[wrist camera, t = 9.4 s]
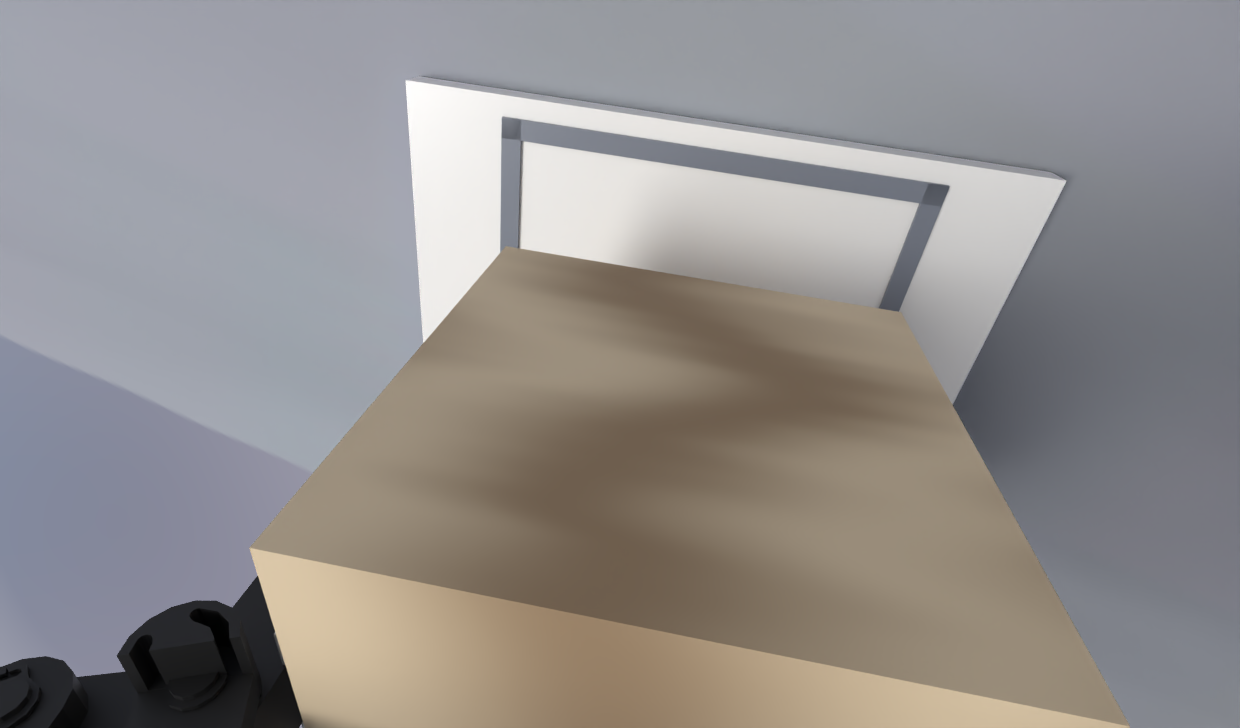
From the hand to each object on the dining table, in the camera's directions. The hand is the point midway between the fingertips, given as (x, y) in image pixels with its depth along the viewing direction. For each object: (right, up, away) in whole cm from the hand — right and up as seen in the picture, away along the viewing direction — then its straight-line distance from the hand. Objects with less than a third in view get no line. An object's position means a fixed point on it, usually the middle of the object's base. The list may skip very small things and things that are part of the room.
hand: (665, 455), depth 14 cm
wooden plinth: (0, 0, +1) cm, 1 cm away
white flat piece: (+1, +3, +5) cm, 6 cm away
